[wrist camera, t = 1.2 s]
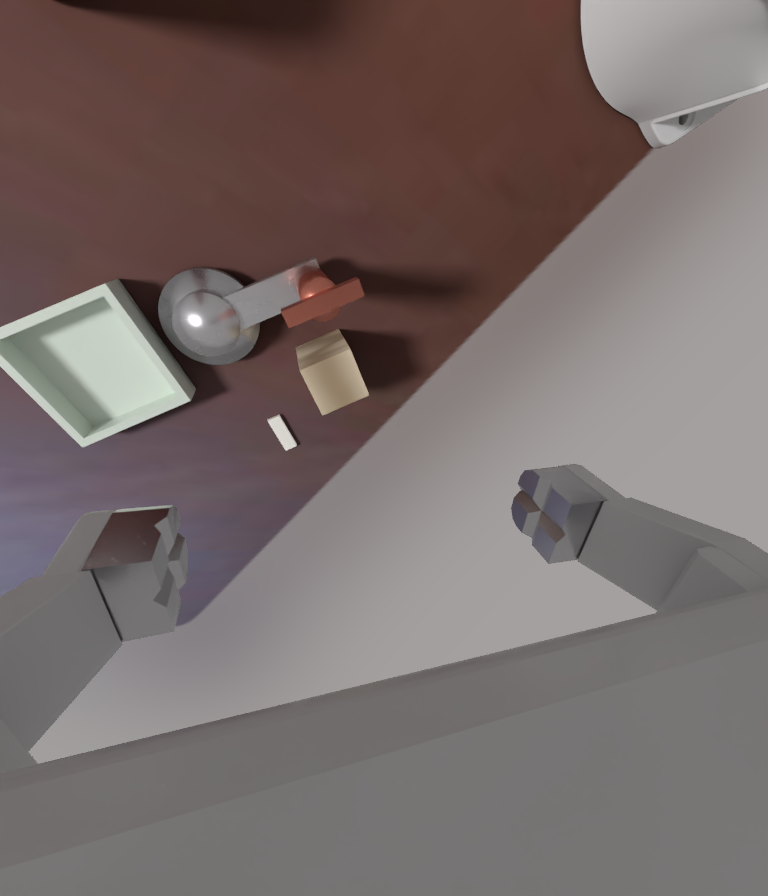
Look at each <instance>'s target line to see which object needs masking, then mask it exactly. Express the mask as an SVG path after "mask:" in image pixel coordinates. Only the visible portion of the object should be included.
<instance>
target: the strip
mask: <svg viewBox="0 0 768 896" xmlns="http://www.w3.org/2000/svg"><path fill="white" fill-rule="evenodd" d="M268 423H269V424H270V426H271V427H272V429H273V431H274V432H275V434H276V436H277V437H278V439H279V440H280V442H281V444H282V445H283V447H284V449H285V450H289V449H291V448H293V447H296V446H297V443H296V442H295V440H294V438H293V437H292V435H291V433H290V431H289V430H288V428H287V426H286V425H285V423H284V421H283V420H282V418H281V416H280V414H279V415H277V416H275V417H272V418H270V419H268Z"/></svg>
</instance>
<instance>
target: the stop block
mask: <svg viewBox="0 0 768 896" xmlns="http://www.w3.org/2000/svg"><path fill="white" fill-rule="evenodd" d="M296 352H297V358H298V364H299V370H300V372H301V374H302V376H303V378H304V380H305V382H306V384H307V386H308V388H309V390H310V392H311V394H312V396H313V398H314V400H315V402H316V404H317V406H318V408H319V410H320V412H321V414H322V416H323V415H325V414H327V413H330V412H332V411H334V410H336V409H339V408H341V407H343V406H346V405H348V404H350V403H352V402H355V401H357V400H359V399H362V398H364V397H366V396H369V393H368V391H367V388H366V386H365V383H364V381H363V379H362V376H361V374H360V371H359V369H358V366H357V364H356V361H355V359H354V356H353V354H352V352H351V349H350V347H349V346H348V344H347V342H346V341H345V339H344V337H343V336H342V334H341V332H340V330H339V329H337V330H335V331H333V332H330V333H328V334H326V335H323V336H321V337H319V338H316V339H314V340H312V341H309V342H307V343H305V344H302V345H300V346H298V347H296Z"/></svg>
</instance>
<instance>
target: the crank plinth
mask: <svg viewBox="0 0 768 896" xmlns="http://www.w3.org/2000/svg"><path fill="white" fill-rule="evenodd" d="M244 286H245V285H244V284H243V283H242V282H241V281H239V280H238V279H237V278H235V277H234V276H232V275H231V274H229V273H227V272H225V271H222V270H219V269H216V268H211V267H196V268H191V269H188V270H185V271H183V272H181V273H179V274H177V275H176V276H174V277H173V278H172V279H171V280H170V281H169V282H168V283H167V284H166V285H165V287H164V288H163V290H162V292H161V295H160V298H159V304H158V314H159V320H160V323H161V326H162V328H163V331H164V333H165V334H166V336H167V337H168V339H169V340H170V341H171V343H172V344H173V345H174V346H175V347H176V348H177V349H178V350H179V351H181V352H182V353H183V354H185V355H186V356H188V357H190V358H192V359H194V360H196V361H199V362H202V363H206V364H212V365H223V364H229V363H232V362H235V361H237V360H239V359H241V358H243V357H244V356H246V355H247V354H248V353H249V352H250V351H251V349H252V348H253V347H254V345H255V343H256V341H257V338H258V335H259V330H260V322H259V323H257V324H254V325H252V326H250V327H247V328H245V329H243V330H241V333H240V336H239V339H238V341H237V343H236V345H235V346H234V347H233V348H232V349H231V350H230V351H229V352H227V353H225V354H223V355H219V356H204V355H200V354H197V353H195V352H193V351H191V350H190V349H188V348H187V347H186V346H185V345H184V344H183V343H182V342H181V341H180V340H179V339H178V337H177V335H176V333H175V331H174V328H173V324H172V315H173V311H174V308H175V306H176V305H177V303H178V302H179V301H180V300H181V299H182V298H183V297H185V296H186V295H187V294H188V293H190V292H192V291H195V290H199V289H210V290H214V291H217V292H219V293H221V294H223V295H225V294H228V293H230V292H233V291H235V290H237V289H240V288H242V287H244Z"/></svg>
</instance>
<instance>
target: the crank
mask: <svg viewBox="0 0 768 896" xmlns="http://www.w3.org/2000/svg"><path fill="white" fill-rule="evenodd" d="M363 296H365V295H364V292H363V289H362V286H361V284H360V281H359V279H358V278H357V277H354V278H351V279H349V280H347V281H344V282H342V283H340V284H337V285H335V284H334V283H333V282H332V281H331V280H330V279H329V278H328V277H327V276H326V275H325V274H324V273H323V272H322V271H321V270H320V267H319V265H318V263H317V260H316V258H315V257H313V258H310V259H308V260H306V261H303V262H301V263H298V264H296V265H294V266H291V267H289V268H287V269H284V270H282V271H280V272H277V273H275V274H273V275H270V276H268V277H266V278H263V279H261V280H258V281H256V282H254V283H251V284H249V285H247V286H244V287H242V288H240V289H237V290H235V291H233V292H230V293H228V294H225V295H223V294H221V293H219V292H217V291H214V290H210V289H199V290H195V291H192V292H190V293H188V294H187V295H186V296H185V297H183V298H182V299H181V300H180V301H179V302H178V303H177V305H176V306H175V308H174V311H173V315H172V324H173V328H174V331H175V333H176V335H177V337H178V339H179V340H180V341H181V342H182V343H183V344H184V345H185V346H186V347H187V348H188V349H190V350H191V351H193V352H195V353H197V354H200V355H204V356H219V355H223V354H225V353H227V352H229V351H230V350H231V349H232V348H233V347H234V346H235V345H236V343H237V341H238V339H239V336H240V333H241V330H243V329H245V328H247V327H250V326H252V325H254V324H257V323H259V322H261V321H264V320H266V319H269V318H271V317H273V316H276V315H278V314H280V313H282V315H283V317H284V319H285V321H286V323H287V325H288V327H289V328H291V327H294V326H296V325H298V324H301V323H303V322H305V321H307V320H310V319H313V320H316V321H319V322H326V321H329V320H331V319H333V318H334V317H336V316H337V314H338V313H339V311H340V309H341V306H342V305H345V304H347V303H349V302H352V301H354V300H356V299H359V298H361V297H363Z"/></svg>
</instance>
